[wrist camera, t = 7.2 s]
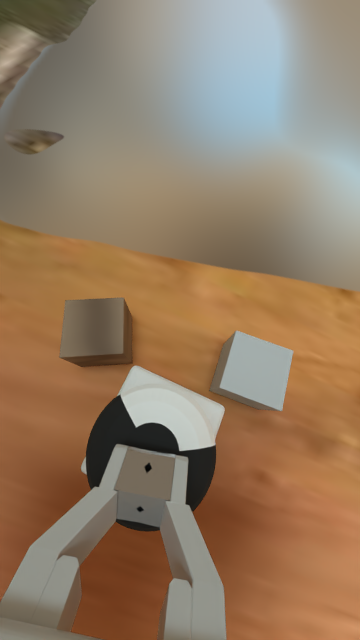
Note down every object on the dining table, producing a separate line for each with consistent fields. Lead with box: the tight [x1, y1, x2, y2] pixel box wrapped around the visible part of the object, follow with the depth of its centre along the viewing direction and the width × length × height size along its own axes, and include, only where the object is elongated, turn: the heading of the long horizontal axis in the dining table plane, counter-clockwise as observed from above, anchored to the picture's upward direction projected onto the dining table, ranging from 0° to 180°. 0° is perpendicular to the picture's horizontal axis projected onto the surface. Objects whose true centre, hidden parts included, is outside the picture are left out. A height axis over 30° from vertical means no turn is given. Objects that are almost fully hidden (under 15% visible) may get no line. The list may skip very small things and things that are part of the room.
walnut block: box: [59, 298, 132, 367], centre depth 22 cm, size 5×5×5 cm
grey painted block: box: [209, 331, 293, 411], centre depth 21 cm, size 5×5×5 cm
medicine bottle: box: [81, 366, 225, 531], centre depth 16 cm, size 7×7×12 cm
